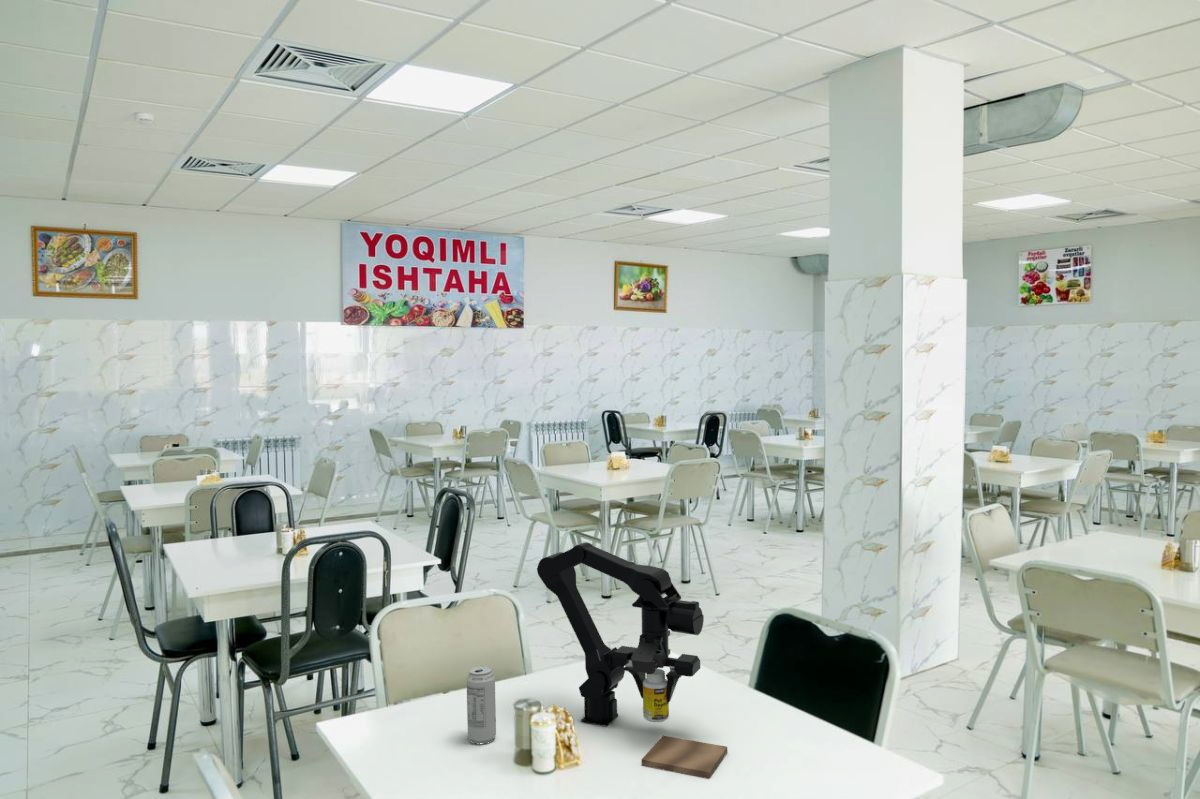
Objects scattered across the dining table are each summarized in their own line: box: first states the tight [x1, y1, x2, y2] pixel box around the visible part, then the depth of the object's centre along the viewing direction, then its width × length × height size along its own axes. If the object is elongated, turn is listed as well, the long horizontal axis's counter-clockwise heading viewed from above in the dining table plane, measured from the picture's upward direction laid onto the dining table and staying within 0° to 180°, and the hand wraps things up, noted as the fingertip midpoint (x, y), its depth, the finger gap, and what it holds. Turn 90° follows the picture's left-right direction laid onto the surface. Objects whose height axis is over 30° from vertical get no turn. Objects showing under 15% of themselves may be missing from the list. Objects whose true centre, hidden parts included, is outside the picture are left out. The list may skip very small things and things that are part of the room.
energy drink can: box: [466, 665, 497, 745], centre depth 181 cm, size 6×6×15 cm
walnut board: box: [641, 734, 728, 779], centre depth 170 cm, size 14×12×1 cm
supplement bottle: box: [642, 668, 670, 723], centre depth 183 cm, size 6×6×10 cm
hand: (655, 699), depth 183 cm, fingers closed on supplement bottle, 5 cm apart
